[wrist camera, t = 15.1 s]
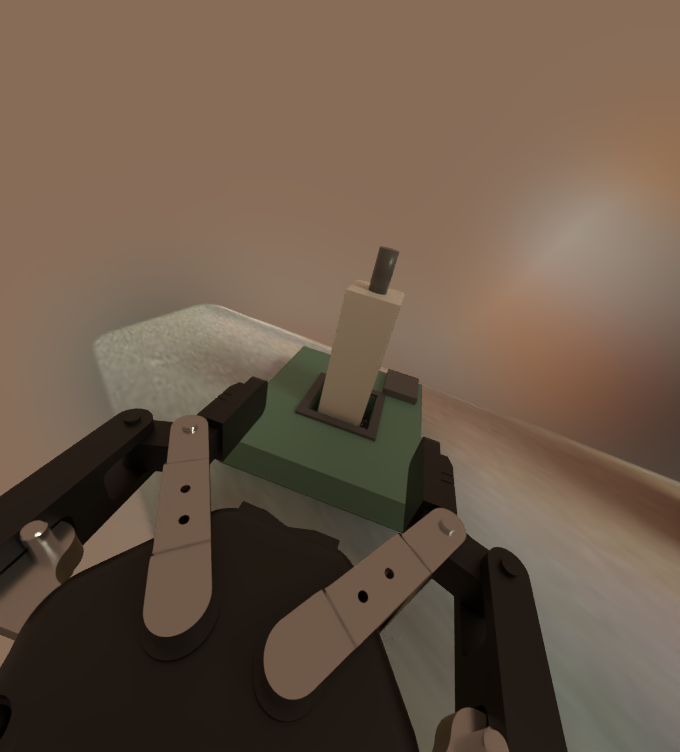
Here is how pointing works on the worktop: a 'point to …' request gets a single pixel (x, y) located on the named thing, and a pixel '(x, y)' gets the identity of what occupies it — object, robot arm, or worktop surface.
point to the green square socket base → (336, 441)
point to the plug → (361, 341)
